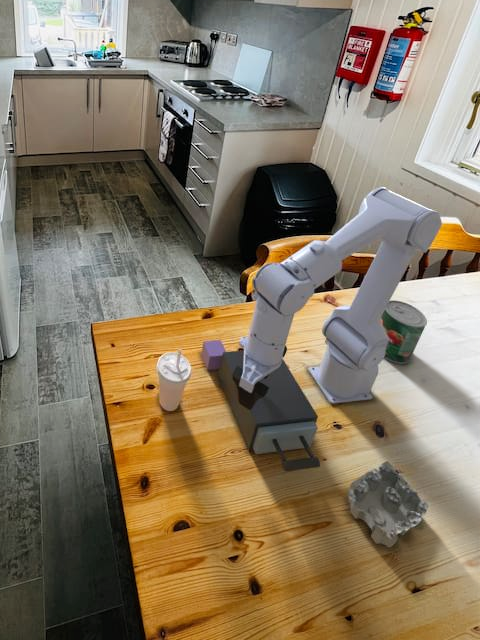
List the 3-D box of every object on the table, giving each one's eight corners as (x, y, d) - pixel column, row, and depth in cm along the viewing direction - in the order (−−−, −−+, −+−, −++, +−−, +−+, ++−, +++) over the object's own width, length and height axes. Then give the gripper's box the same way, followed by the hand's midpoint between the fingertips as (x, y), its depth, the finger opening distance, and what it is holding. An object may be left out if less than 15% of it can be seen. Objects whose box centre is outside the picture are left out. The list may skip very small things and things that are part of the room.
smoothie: (184, 421, 73) (194, 367, 68) (150, 413, 74) (157, 360, 69) (186, 390, 79) (195, 338, 74) (154, 383, 80) (161, 332, 75)
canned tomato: (416, 354, 91) (433, 317, 86) (401, 369, 87) (418, 332, 82) (379, 330, 97) (394, 295, 92) (364, 344, 92) (378, 308, 88)
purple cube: (218, 353, 88) (220, 339, 86) (224, 368, 84) (227, 355, 83) (200, 354, 87) (203, 341, 86) (207, 370, 84) (209, 356, 82)
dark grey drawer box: (308, 442, 71) (318, 416, 68) (248, 450, 69) (255, 424, 66) (269, 371, 84) (275, 347, 82) (217, 376, 82) (222, 352, 80)
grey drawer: (327, 477, 65) (335, 457, 63) (268, 485, 64) (275, 465, 62) (272, 378, 82) (278, 360, 80) (225, 383, 80) (229, 364, 78)
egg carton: (382, 556, 57) (392, 540, 55) (338, 499, 63) (345, 484, 62) (427, 521, 61) (437, 506, 59) (381, 471, 67) (389, 456, 66)
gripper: (260, 296, 72) (246, 350, 77) (227, 346, 61) (214, 405, 66) (300, 315, 68) (283, 371, 73) (272, 372, 57) (255, 433, 62)
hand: (253, 389), depth 70 cm, fingers open, 7 cm apart
